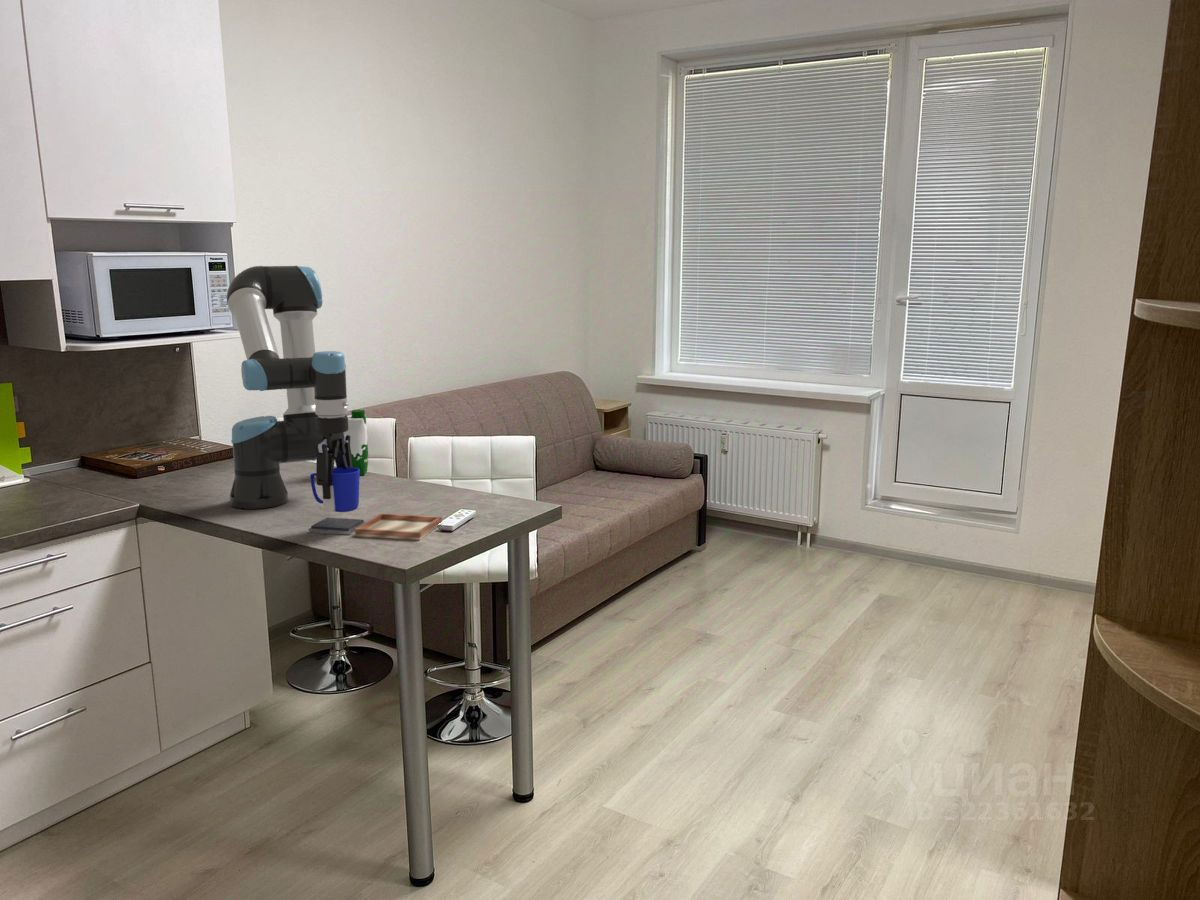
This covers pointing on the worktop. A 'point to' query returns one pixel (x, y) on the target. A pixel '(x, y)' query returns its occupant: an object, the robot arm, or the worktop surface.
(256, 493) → the robot arm
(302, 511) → the worktop surface
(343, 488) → the mug
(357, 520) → the ink pad
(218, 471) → the worktop surface
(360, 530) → the sand box
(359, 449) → the milk carton
